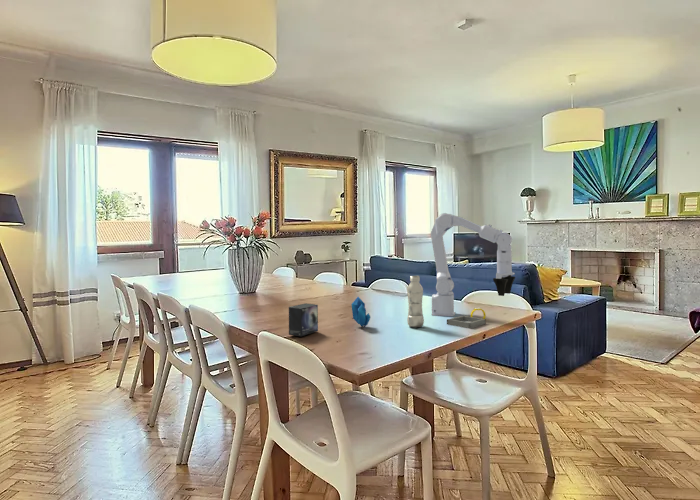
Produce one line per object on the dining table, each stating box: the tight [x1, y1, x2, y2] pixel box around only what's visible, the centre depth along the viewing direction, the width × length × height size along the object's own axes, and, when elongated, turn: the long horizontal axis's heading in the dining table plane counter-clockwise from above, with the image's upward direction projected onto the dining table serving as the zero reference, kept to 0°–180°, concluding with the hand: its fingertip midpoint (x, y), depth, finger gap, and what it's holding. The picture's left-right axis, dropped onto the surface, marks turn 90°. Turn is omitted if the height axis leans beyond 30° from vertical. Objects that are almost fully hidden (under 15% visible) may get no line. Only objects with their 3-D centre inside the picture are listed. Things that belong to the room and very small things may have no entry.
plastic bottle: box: [406, 275, 425, 328], centre depth 170 cm, size 6×7×20 cm
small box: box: [288, 303, 319, 337], centre depth 164 cm, size 11×6×10 cm, turn 148°
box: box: [446, 315, 487, 330], centre depth 171 cm, size 11×11×2 cm
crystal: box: [350, 296, 371, 328], centre depth 172 cm, size 7×9×12 cm
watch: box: [470, 306, 487, 319], centre depth 177 cm, size 6×3×6 cm, turn 98°
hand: (504, 294), depth 181 cm, fingers open, 7 cm apart
